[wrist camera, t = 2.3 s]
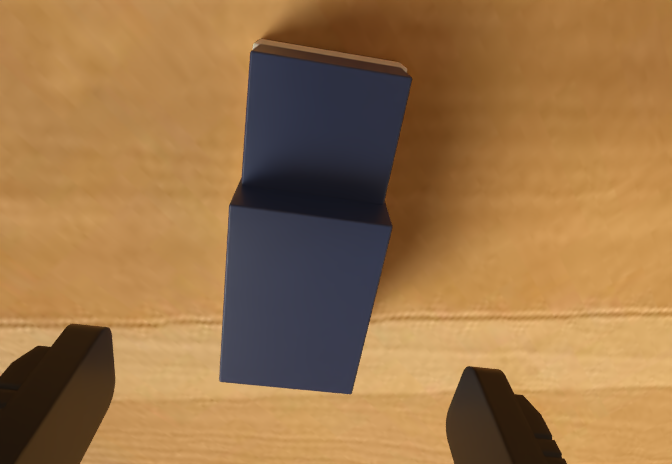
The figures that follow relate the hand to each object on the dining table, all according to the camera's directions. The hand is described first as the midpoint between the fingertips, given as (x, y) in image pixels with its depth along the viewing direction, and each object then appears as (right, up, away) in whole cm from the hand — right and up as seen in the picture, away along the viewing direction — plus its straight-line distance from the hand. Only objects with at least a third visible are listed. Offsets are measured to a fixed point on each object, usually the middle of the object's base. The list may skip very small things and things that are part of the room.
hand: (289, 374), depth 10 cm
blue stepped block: (0, +4, +8) cm, 9 cm away
